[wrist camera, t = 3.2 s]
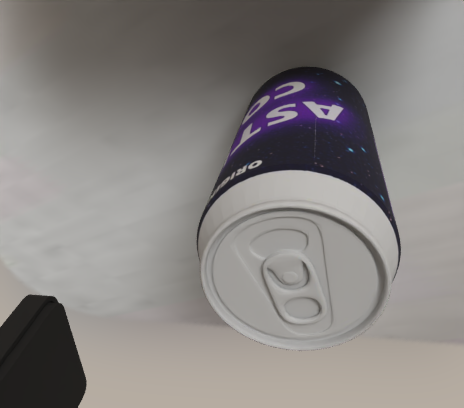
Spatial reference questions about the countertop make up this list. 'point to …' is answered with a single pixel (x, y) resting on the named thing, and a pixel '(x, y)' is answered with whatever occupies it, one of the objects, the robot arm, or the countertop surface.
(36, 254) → the countertop surface
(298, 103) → the beverage can
